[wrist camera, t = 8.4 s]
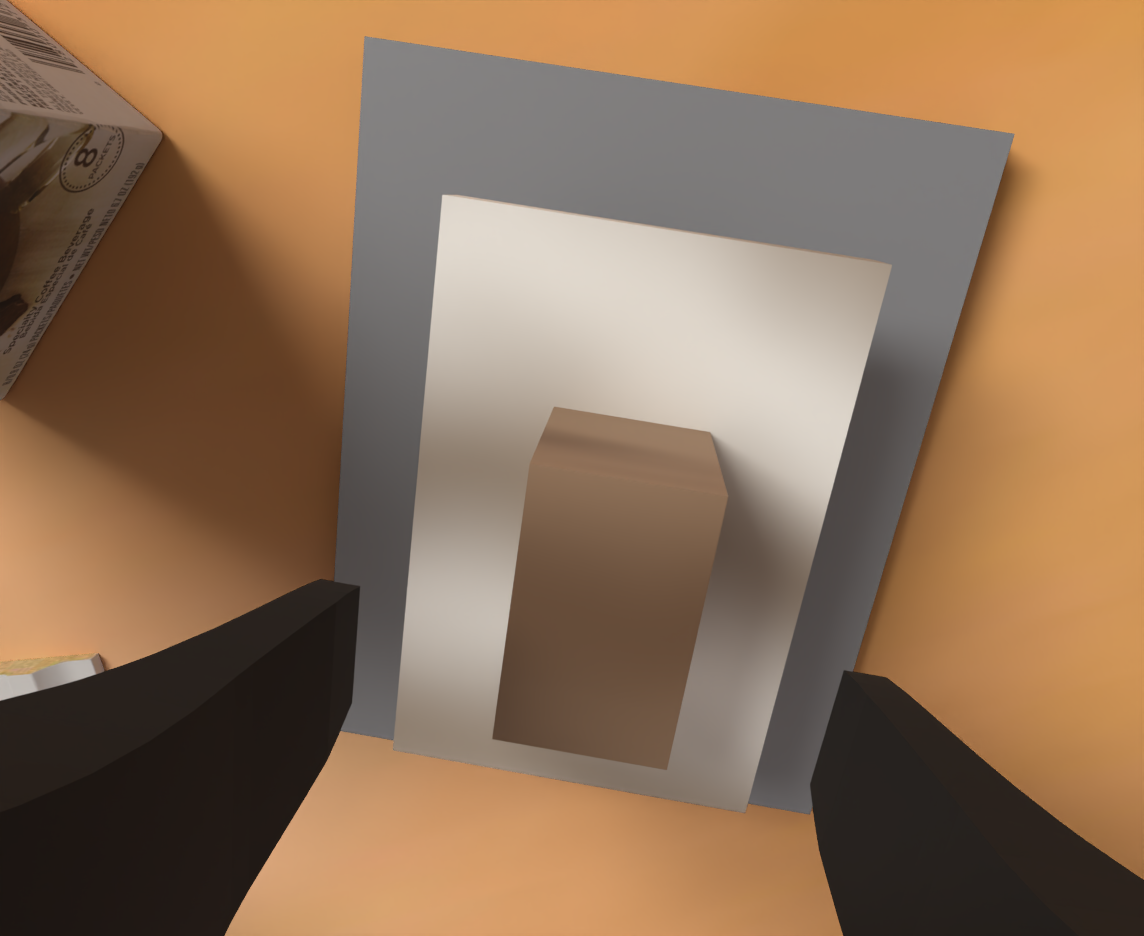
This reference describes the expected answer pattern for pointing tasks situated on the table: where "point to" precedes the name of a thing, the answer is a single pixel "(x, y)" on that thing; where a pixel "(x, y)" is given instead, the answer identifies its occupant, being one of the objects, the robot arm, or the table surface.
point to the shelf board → (642, 363)
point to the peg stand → (667, 199)
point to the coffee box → (55, 177)
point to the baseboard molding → (45, 673)
